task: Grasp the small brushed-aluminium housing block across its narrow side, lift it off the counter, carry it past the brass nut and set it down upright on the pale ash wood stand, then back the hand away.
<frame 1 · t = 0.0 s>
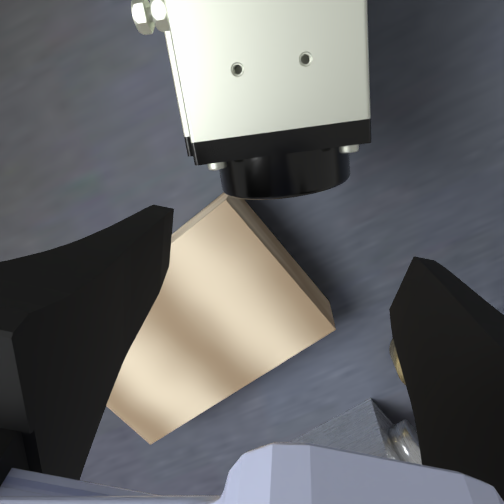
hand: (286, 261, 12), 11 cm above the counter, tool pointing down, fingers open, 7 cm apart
aluminium housing: (341, 445, 29), on the counter
pneumatic valve: (260, 25, 19), on the counter
wood stand: (193, 311, 25), on the counter
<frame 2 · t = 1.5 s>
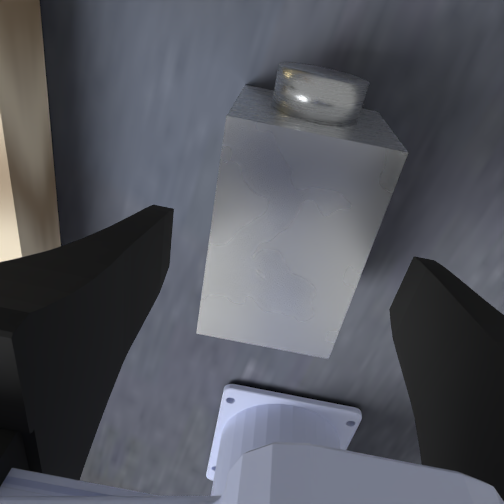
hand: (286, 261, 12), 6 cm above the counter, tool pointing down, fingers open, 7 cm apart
aluminium housing: (288, 194, 17), on the counter
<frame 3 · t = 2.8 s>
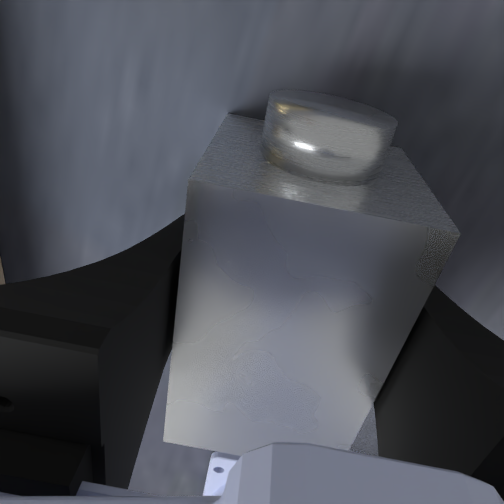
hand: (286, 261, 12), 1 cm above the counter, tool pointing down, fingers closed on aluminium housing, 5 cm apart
aluminium housing: (284, 248, 14), on the counter, touching gripper
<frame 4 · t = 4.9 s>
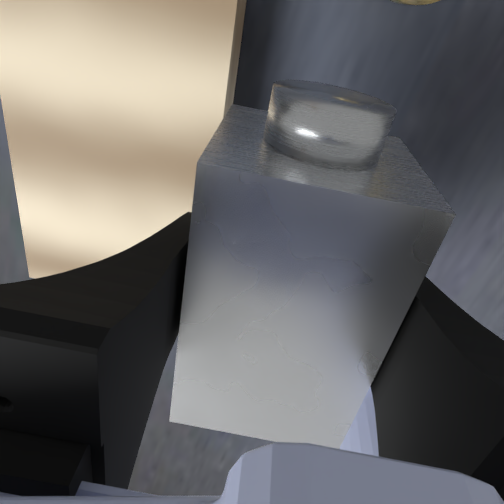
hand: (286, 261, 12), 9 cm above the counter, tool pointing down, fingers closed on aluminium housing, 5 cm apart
aluminium housing: (286, 237, 14), point 7 cm above the counter, touching gripper
wood stand: (135, 144, 20), on the counter
when the fingers open (6 cm above the counter, at t = 6.9 s): aluminium housing stays where it is, resting on wood stand.
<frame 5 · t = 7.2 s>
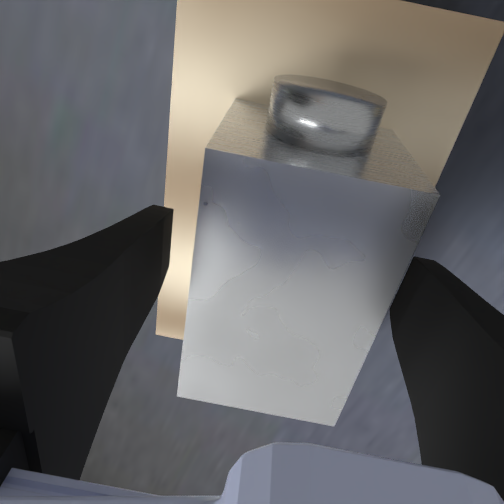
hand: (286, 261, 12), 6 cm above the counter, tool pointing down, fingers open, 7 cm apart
aluminium housing: (286, 225, 15), point 3 cm above the counter, touching wood stand
wood stand: (289, 185, 17), on the counter
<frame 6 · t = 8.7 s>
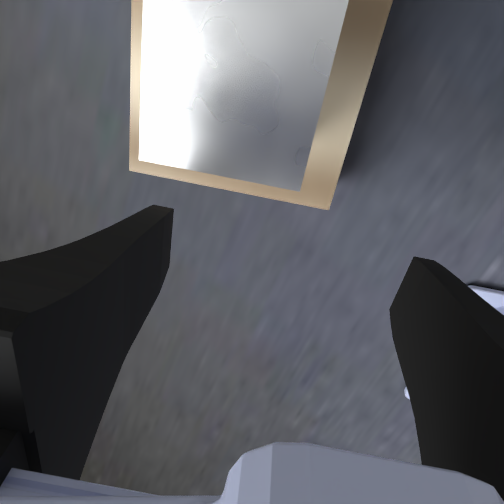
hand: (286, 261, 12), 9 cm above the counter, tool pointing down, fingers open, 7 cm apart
aluminium housing: (256, 20, 15), point 3 cm above the counter, touching wood stand
wood stand: (263, 8, 17), on the counter
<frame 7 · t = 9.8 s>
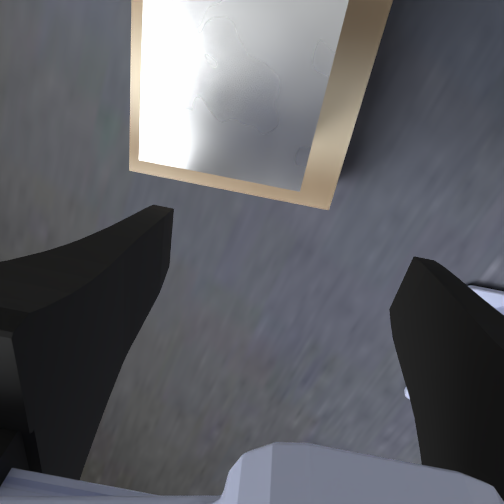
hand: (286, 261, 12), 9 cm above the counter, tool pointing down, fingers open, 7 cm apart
aluminium housing: (256, 20, 15), point 3 cm above the counter, touching wood stand
wood stand: (263, 8, 17), on the counter
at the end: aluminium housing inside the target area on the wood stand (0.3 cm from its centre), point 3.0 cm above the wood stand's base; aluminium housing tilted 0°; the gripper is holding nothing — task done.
